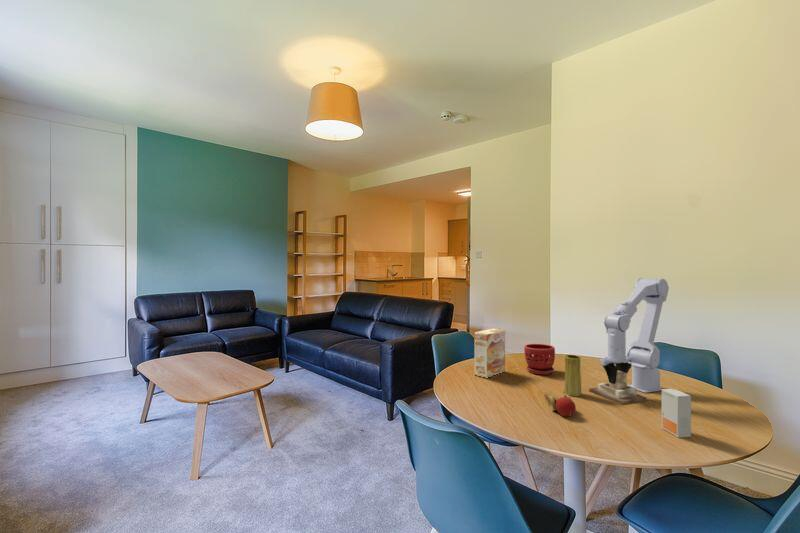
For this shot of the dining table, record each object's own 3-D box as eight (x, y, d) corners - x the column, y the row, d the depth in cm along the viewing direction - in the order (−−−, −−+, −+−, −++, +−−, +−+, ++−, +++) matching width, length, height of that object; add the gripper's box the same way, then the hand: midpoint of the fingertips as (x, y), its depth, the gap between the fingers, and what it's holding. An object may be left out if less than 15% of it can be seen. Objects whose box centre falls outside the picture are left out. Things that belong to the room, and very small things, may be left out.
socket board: (612, 387, 143) (612, 378, 143) (646, 400, 130) (646, 390, 130) (589, 391, 139) (589, 382, 139) (621, 404, 126) (621, 394, 126)
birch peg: (617, 385, 137) (617, 370, 137) (626, 389, 133) (626, 373, 133) (609, 386, 136) (609, 371, 135) (618, 390, 132) (618, 374, 132)
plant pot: (557, 370, 167) (557, 344, 167) (552, 378, 156) (552, 350, 156) (528, 366, 174) (527, 341, 174) (521, 373, 163) (521, 347, 163)
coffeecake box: (487, 379, 155) (487, 334, 154) (473, 375, 160) (473, 332, 160) (505, 372, 165) (505, 329, 164) (492, 368, 170) (492, 327, 170)
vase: (583, 397, 133) (583, 358, 133) (566, 396, 135) (566, 358, 134) (579, 391, 139) (579, 354, 139) (562, 390, 140) (562, 354, 140)
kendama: (535, 402, 132) (555, 416, 114) (537, 385, 133) (558, 396, 115) (556, 406, 132) (580, 420, 114) (558, 388, 133) (582, 400, 115)
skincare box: (660, 428, 108) (660, 388, 108) (673, 427, 108) (673, 388, 108) (678, 438, 102) (678, 396, 102) (691, 437, 102) (692, 395, 102)
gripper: (611, 350, 128) (611, 388, 129) (641, 347, 133) (641, 383, 133) (594, 346, 135) (595, 382, 135) (623, 343, 140) (623, 377, 140)
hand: (616, 382), depth 135 cm, fingers closed on birch peg, 4 cm apart
